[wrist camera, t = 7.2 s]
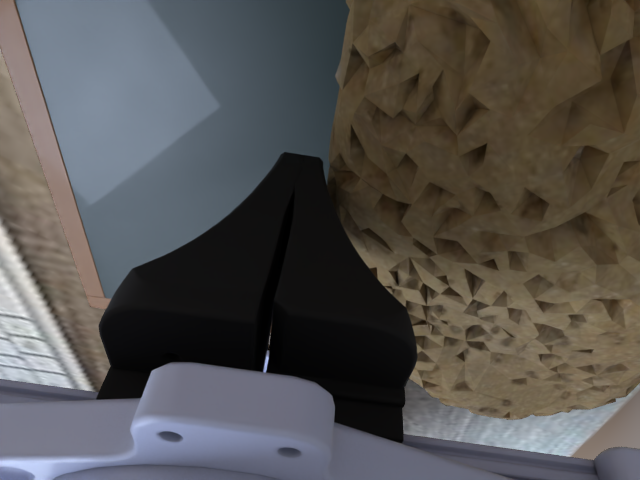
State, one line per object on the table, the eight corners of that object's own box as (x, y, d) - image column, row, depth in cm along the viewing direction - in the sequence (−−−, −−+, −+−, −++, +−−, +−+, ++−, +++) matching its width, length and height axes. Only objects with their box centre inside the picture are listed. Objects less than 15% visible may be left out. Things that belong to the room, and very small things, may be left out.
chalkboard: (559, 368, 26) (561, 374, 26) (93, 301, 25) (89, 307, 25) (1277, -411, 8) (1310, -418, 8) (-251, -721, 7) (-277, -742, 7)
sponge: (331, -208, 11) (297, 366, 22) (436, -414, 5) (316, 547, 15) (788, -150, 13) (555, 355, 24) (1316, -243, 7) (670, 512, 17)
